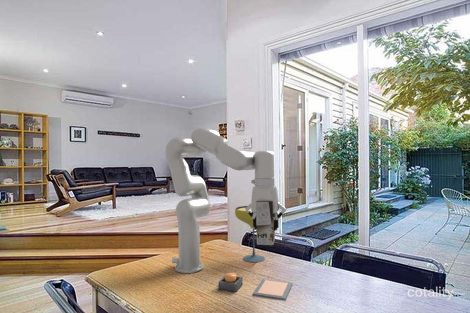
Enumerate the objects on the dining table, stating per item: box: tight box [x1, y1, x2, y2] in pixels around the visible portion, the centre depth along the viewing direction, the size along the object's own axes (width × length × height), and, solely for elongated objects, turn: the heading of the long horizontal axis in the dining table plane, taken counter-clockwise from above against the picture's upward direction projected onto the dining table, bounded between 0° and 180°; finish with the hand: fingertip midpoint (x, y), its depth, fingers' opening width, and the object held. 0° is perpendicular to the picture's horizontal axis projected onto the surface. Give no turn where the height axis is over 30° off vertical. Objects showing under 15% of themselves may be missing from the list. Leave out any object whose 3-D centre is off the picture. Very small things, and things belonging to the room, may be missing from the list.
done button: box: [224, 272, 237, 283], centre depth 115 cm, size 4×4×3 cm
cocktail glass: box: [234, 205, 266, 263], centre depth 148 cm, size 18×18×25 cm
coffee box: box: [256, 201, 276, 246], centre depth 115 cm, size 9×6×16 cm
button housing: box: [217, 275, 243, 293], centre depth 115 cm, size 7×7×3 cm
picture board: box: [252, 278, 293, 301], centre depth 112 cm, size 12×14×1 cm
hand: (265, 229), depth 115 cm, fingers closed on coffee box, 7 cm apart
